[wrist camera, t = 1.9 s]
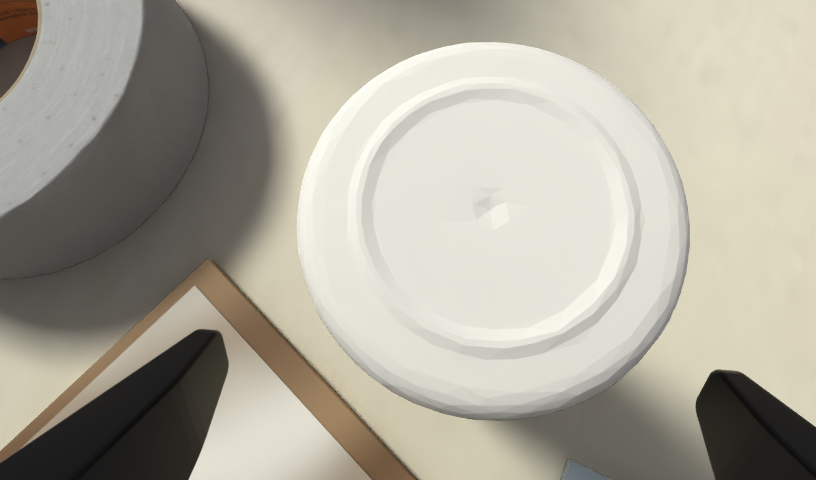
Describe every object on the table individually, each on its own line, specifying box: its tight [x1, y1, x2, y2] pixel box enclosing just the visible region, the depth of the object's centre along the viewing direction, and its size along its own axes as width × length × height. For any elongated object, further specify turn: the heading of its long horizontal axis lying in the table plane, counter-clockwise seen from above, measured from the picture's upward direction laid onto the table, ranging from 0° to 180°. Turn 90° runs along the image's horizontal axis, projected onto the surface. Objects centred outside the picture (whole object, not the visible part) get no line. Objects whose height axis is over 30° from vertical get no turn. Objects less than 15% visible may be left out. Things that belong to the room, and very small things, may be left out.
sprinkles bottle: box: [297, 42, 690, 421], centre depth 12 cm, size 5×5×14 cm
